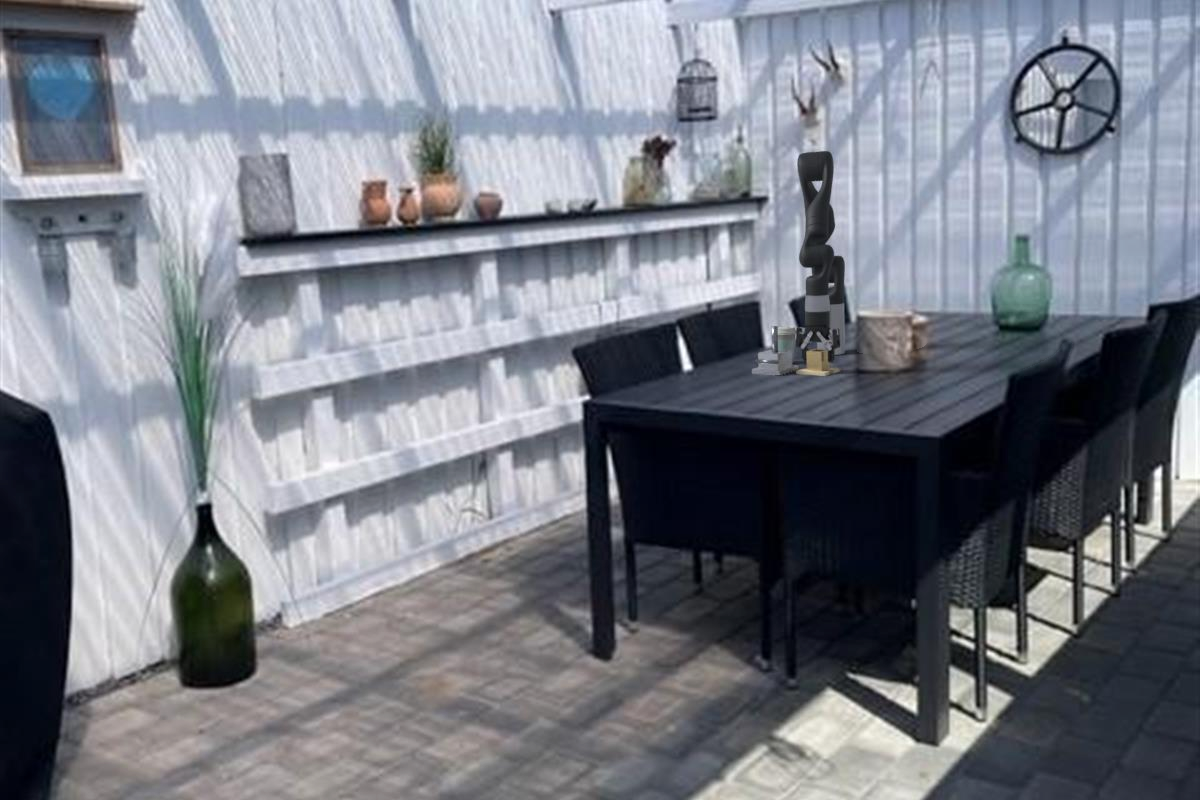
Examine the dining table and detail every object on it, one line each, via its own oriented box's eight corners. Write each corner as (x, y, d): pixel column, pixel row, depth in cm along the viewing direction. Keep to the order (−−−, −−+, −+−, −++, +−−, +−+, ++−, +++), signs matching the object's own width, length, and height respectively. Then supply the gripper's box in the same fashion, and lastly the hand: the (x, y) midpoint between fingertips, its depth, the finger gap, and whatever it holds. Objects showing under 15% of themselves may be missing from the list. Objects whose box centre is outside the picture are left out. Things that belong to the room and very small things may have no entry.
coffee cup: (789, 366, 416) (788, 329, 414) (766, 364, 421) (765, 328, 419) (802, 362, 423) (801, 326, 421) (779, 360, 428) (778, 325, 426)
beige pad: (811, 369, 408) (811, 366, 408) (840, 371, 402) (840, 368, 402) (796, 374, 400) (796, 370, 400) (825, 376, 394) (824, 372, 394)
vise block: (771, 368, 414) (770, 323, 411) (798, 370, 408) (798, 324, 405) (751, 373, 404) (750, 328, 402) (779, 375, 398) (778, 329, 396)
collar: (814, 367, 405) (814, 348, 404) (829, 368, 401) (829, 349, 400) (806, 370, 401) (806, 351, 400) (821, 371, 397) (821, 352, 396)
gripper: (843, 308, 396) (844, 360, 399) (802, 307, 405) (803, 358, 408) (832, 311, 391) (833, 364, 393) (791, 310, 399) (792, 361, 402)
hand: (818, 361), depth 401 cm, fingers open, 8 cm apart
